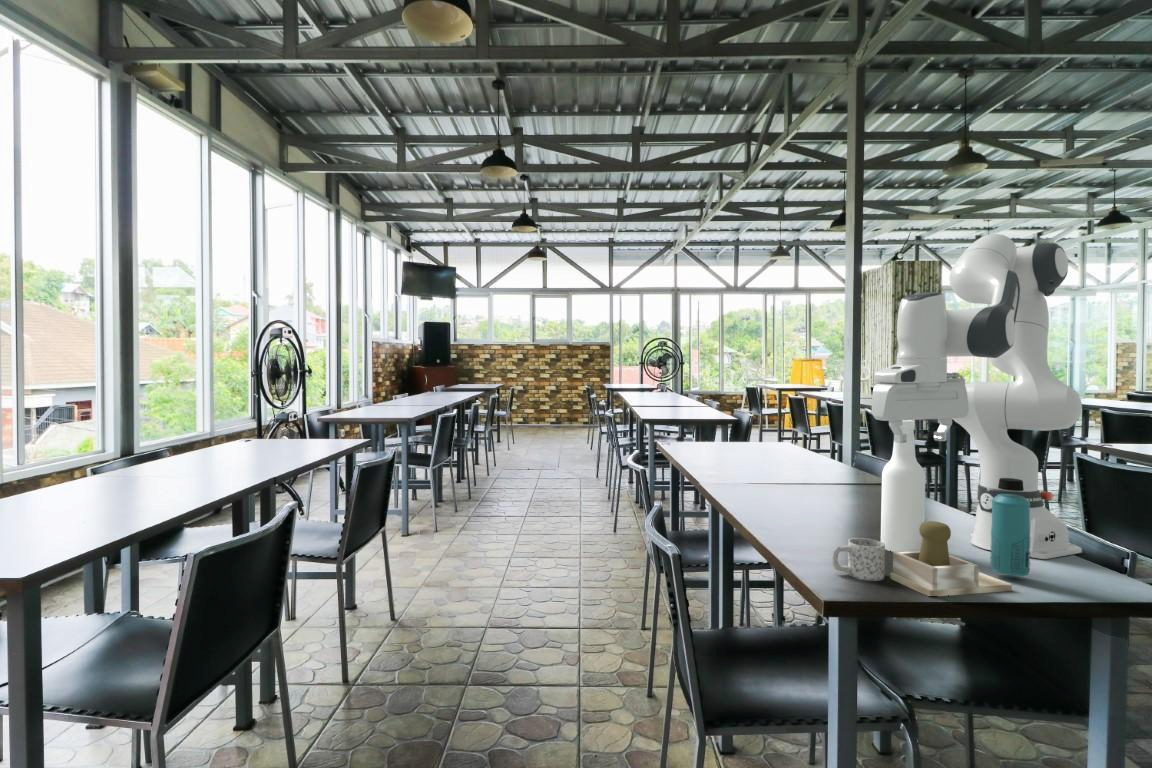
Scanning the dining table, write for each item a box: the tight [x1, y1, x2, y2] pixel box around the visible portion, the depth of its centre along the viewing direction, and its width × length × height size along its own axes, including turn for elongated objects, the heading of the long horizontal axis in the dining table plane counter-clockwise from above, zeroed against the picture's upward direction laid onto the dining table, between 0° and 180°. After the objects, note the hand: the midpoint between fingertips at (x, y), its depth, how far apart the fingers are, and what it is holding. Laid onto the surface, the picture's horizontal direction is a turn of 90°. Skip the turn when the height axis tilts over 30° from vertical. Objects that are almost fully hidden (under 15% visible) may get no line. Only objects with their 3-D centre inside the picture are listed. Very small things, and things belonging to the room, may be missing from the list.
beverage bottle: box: [989, 478, 1031, 577], centre depth 121 cm, size 6×7×20 cm
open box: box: [889, 551, 1013, 597], centre depth 117 cm, size 18×10×5 cm, turn 102°
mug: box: [832, 537, 886, 582], centre depth 122 cm, size 10×7×7 cm
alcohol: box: [880, 420, 926, 553], centre depth 140 cm, size 9×9×30 cm
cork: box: [919, 520, 952, 567], centre depth 116 cm, size 6×6×11 cm
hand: (920, 441), depth 122 cm, fingers open, 8 cm apart
